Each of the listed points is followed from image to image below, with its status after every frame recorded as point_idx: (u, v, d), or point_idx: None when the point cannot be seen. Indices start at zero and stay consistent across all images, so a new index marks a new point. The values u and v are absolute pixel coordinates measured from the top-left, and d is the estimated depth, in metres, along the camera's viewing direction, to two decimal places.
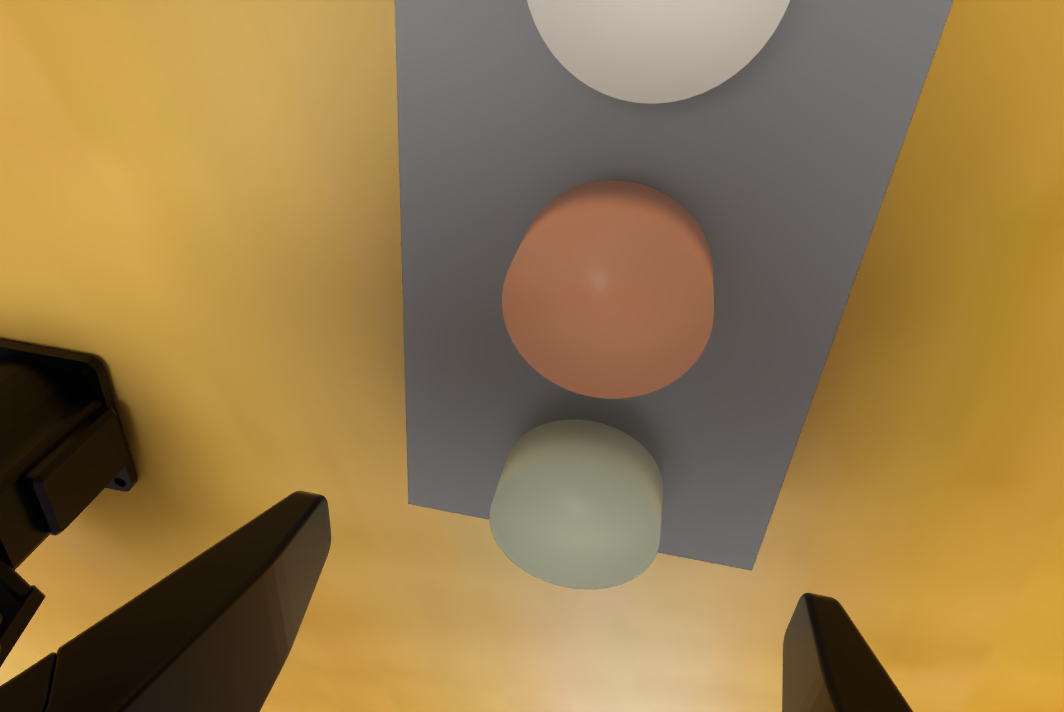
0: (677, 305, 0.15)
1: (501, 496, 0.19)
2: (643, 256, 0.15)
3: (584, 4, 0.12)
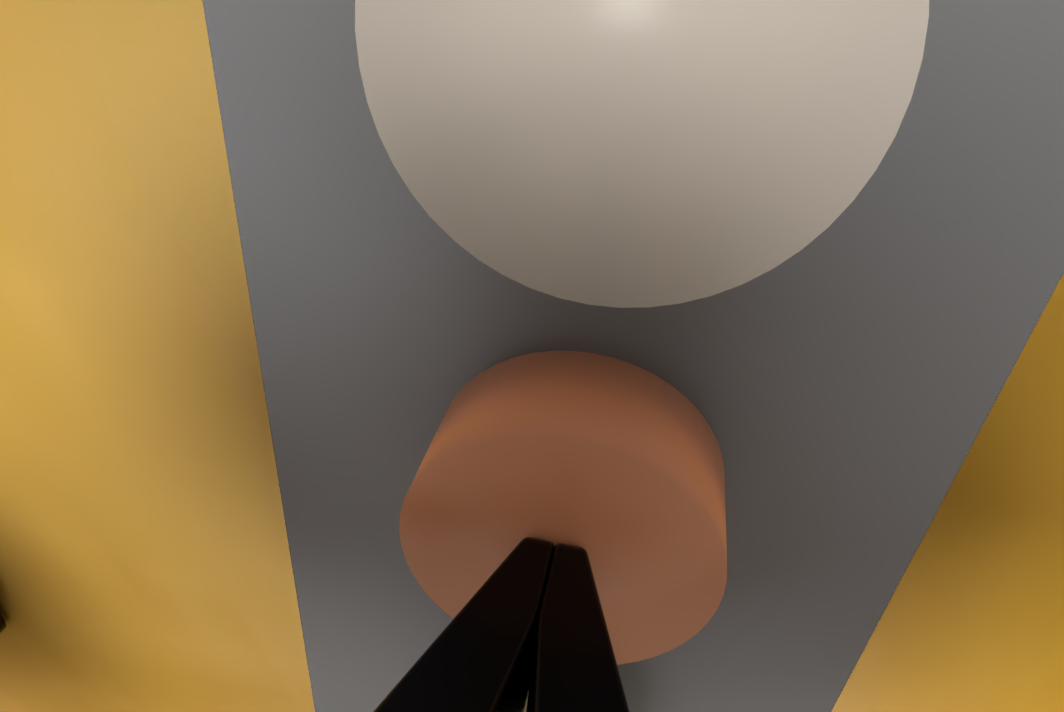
0: (669, 560, 0.10)
1: None
2: (614, 495, 0.09)
3: (483, 137, 0.06)
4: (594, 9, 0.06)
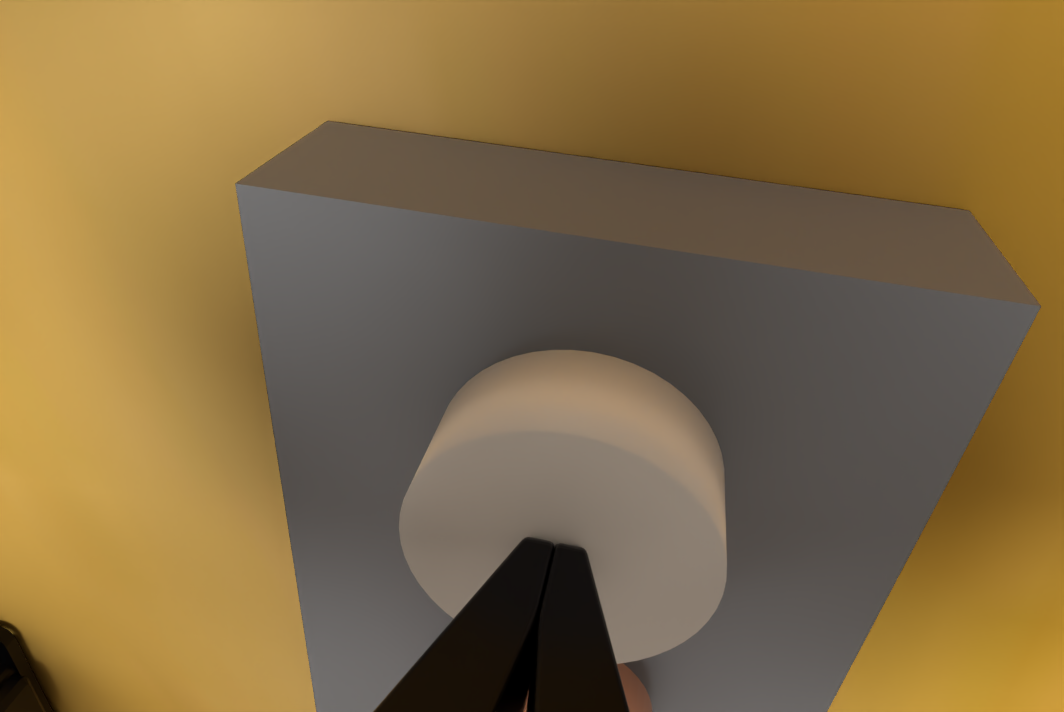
0: None
1: None
2: None
3: (475, 579, 0.11)
4: (540, 538, 0.10)
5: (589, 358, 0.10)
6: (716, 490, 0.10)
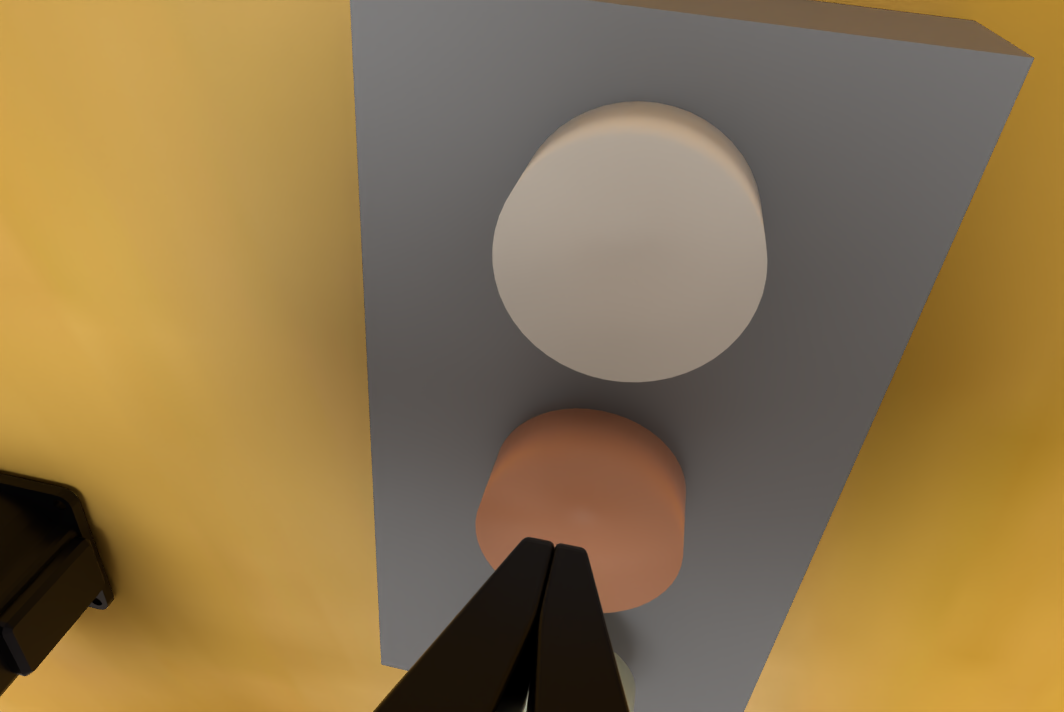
0: (647, 544, 0.15)
1: None
2: (613, 502, 0.15)
3: (553, 297, 0.13)
4: (612, 247, 0.12)
5: (653, 104, 0.12)
6: (758, 207, 0.12)
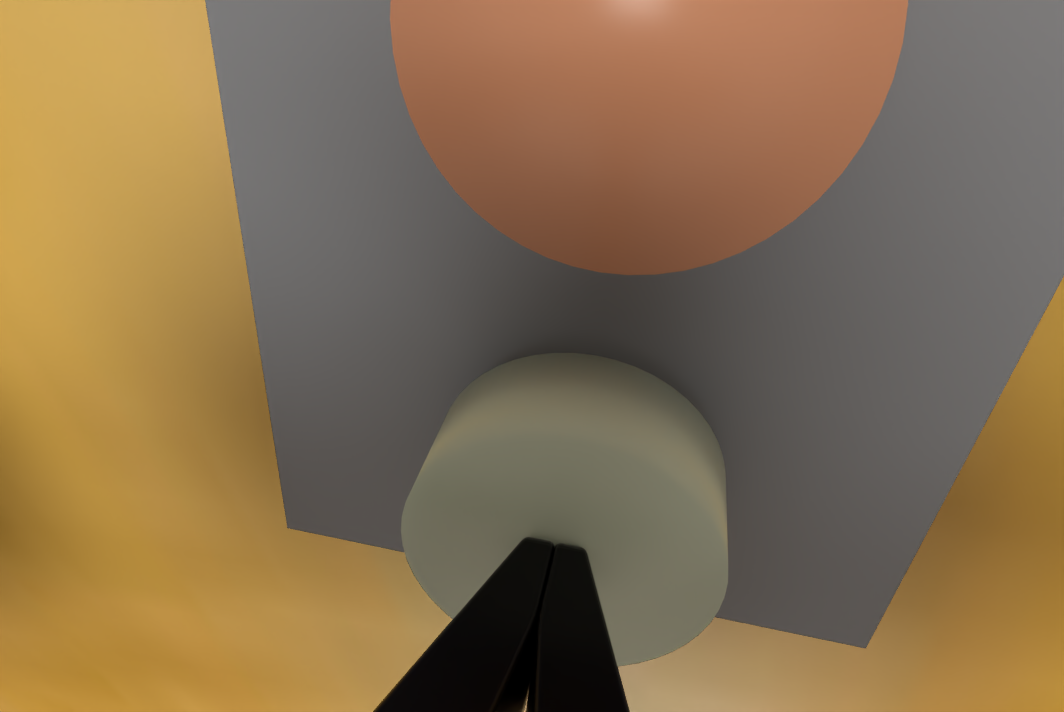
0: (814, 12, 0.06)
1: (420, 497, 0.10)
2: None
3: None
4: None
5: None
6: None
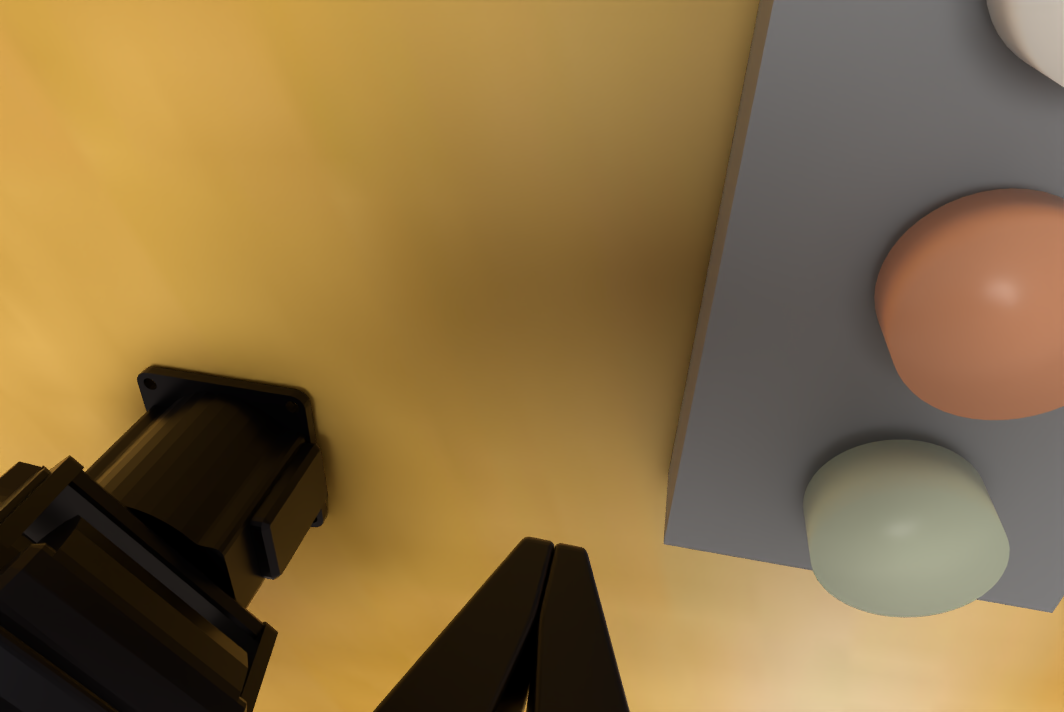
0: None
1: (832, 522, 0.18)
2: None
3: None
4: None
5: None
6: None
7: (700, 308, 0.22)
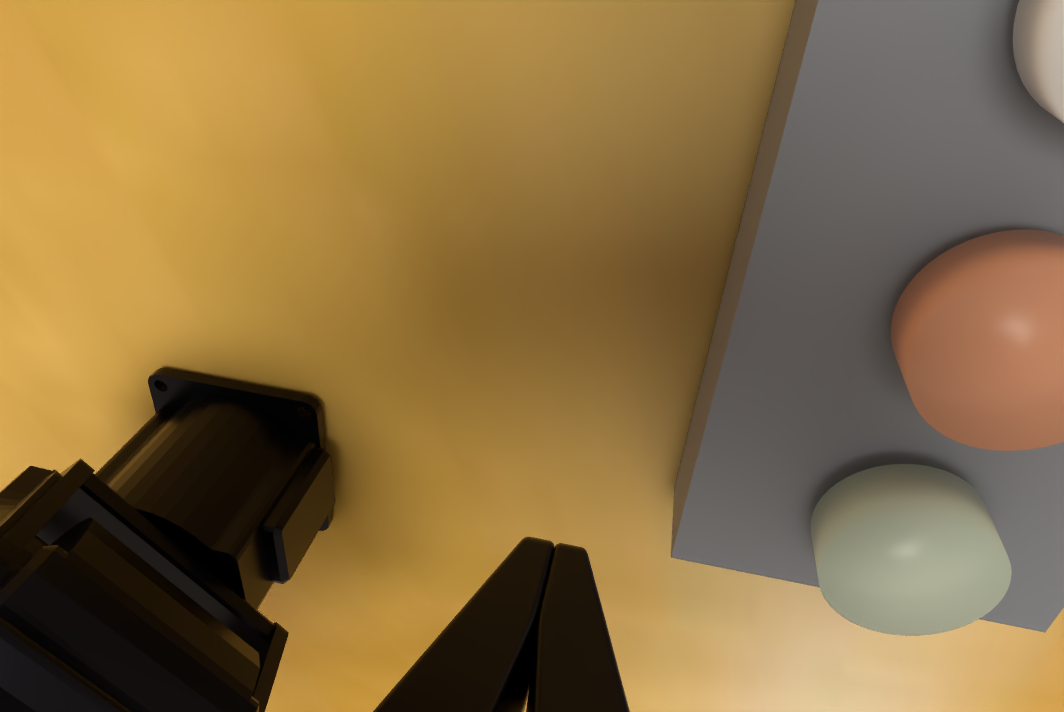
0: None
1: (841, 543, 0.19)
2: None
3: None
4: None
5: None
6: None
7: (714, 328, 0.22)
